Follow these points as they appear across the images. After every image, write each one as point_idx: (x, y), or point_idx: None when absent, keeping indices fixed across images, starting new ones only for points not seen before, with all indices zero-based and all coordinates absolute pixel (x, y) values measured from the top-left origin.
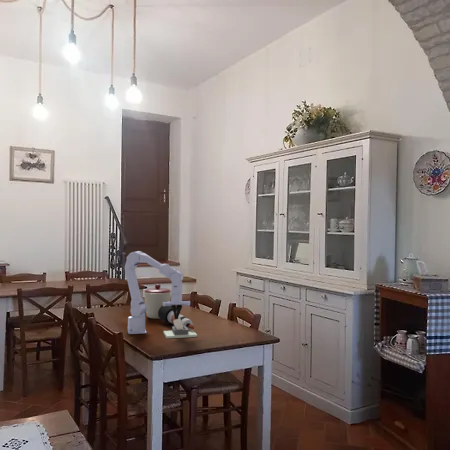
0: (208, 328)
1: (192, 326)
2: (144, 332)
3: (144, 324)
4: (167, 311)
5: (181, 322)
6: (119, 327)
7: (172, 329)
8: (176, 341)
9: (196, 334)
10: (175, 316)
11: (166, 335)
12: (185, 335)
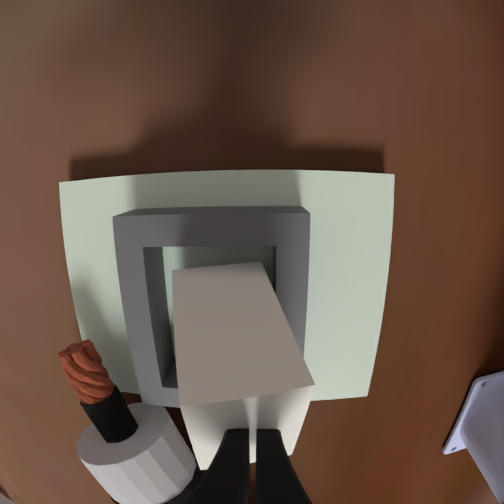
0: (22, 414)
1: (69, 353)
2: (482, 386)
3: (502, 432)
4: None
5: (176, 341)
6: None
7: None
8: (301, 32)
9: (62, 188)
10: (280, 462)
11: (391, 205)
12: (173, 172)
